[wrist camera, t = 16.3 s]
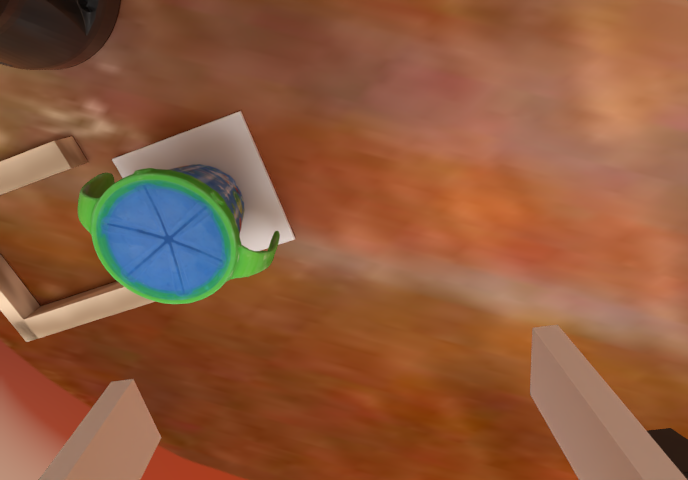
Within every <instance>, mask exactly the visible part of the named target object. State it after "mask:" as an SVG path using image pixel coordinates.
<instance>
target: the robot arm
mask: <svg viewBox="0 0 688 480" xmlns="http://www.w3.org/2000/svg"><path fill="white" fill-rule="evenodd" d="M119 4H120V0H0V64H2V65H6V66H10V67H14V68H20V69H29V70H56V69H64V68H68V67H72V66H75V65H77V64H79V63H82V62H83V61H85V60H87V59H88V58H90V57H91V56H92V55H94V54H95V53H96V52H97V51H98V50H99V49H100V48H101V47H102V46H103V44H104V43H105V42H106V40H107V39H108V37H109V35H110V33H111V31H112V29H113V27H114V24H115V21H116V18H117V14H118V10H119ZM530 395H531V397H532V398H533V400H534V402H535V404H536V405H537V407H538V409H539V411H540V412H541V414H542V416H543V418H544V419H545V421H546V423H547V424H548V426H549V428H550V430H551V431H552V433H553V435H554V437H555V438H556V440H557V442H558V444H559V445H560V447H561V449H562V451H563V452H564V454H565V456H566V458H567V459H568V461H569V463H570V465H571V466H572V468H573V470H574V472H575V473H576V475H577V477H578V479H579V480H688V440H687V439H686V438H684V437H683V436H681V435H680V434H679V433H677V432H676V431H674V430H673V429H671V428H668V429H658V430H649V431H646V430H645V429H644V427H643V426H642V425H641V424H640V423H639V421H638V420H637V419H636V418H635V417H634V415H633V414H632V413H631V412H630V411H629V410H628V408H627V407H626V406H625V405H624V404H623V402H622V401H621V400H620V399H619V398H618V396H617V395H616V394H615V393H614V392H613V390H612V389H611V388H610V387H609V386H608V384H607V383H606V382H605V381H604V380H603V378H602V377H601V376H600V375H599V374H598V373H597V371H596V370H595V369H594V368H593V367H592V365H591V364H590V363H589V362H588V361H587V359H586V358H585V357H584V356H583V355H582V353H581V352H580V351H579V350H578V349H577V347H576V346H575V345H574V344H573V343H572V341H571V340H570V339H569V338H568V337H567V335H566V334H565V333H564V332H563V331H562V330H561V328H560V327H559V326H558V325H552V326H544V327H536V328H533V330H532V356H531V383H530ZM160 439H161V436H160V434H159V432H158V430H157V428H156V426H155V424H154V421H153V419H152V417H151V415H150V413H149V411H148V409H147V407H146V405H145V403H144V401H143V399H142V396H141V394H140V392H139V390H138V388H137V386H136V384H135V382H134V380H133V379H130V380H122V381H115V382H111V383H110V385H109V386H108V387H107V389H106V390H105V391H104V393H103V394H102V395H101V397H100V398H99V399H98V401H97V402H96V403H95V405H94V406H93V407H92V409H91V410H90V412H89V413H88V414H87V416H86V417H85V418H84V420H83V421H82V422H81V423H80V425H79V426H78V427H77V429H76V430H75V432H74V433H73V434H72V436H71V437H70V438H69V440H68V441H67V442H66V444H65V445H64V447H63V448H62V449H61V450H60V452H59V453H58V454H57V456H56V457H55V459H54V460H53V461H52V462H51V464H50V465H49V466H48V468H47V469H46V470H45V472H44V473H43V475H42V476H41V477H40V479H39V480H140V479H141V477H142V475H143V473H144V471H145V469H146V467H147V465H148V463H149V461H150V459H151V457H152V455H153V453H154V451H155V449H156V447H157V445H158V443H159V441H160Z"/></svg>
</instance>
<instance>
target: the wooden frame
mask: <svg viewBox="0 0 688 480" xmlns="http://www.w3.org/2000/svg"><path fill="white" fill-rule="evenodd" d="M87 162H88V161H87V159H86V158H85V156H84V154H83V153H82V151H81V149H80V148H79V146H78V145H77V143H76V141H75V140H74V138H73V136H71V137H67V138H63V139H59V140H55V141H52V142H50V143H47V144H44V145H42V146H39V147H37V148H34V149H32V150H29V151H27V152H24V153H21V154H19V155H16V156H14V157H11V158H9V159H6V160H3V161H1V162H0V195H2V194H5V193H7V192H10V191H13V190H15V189H18V188H21V187H23V186H26V185H28V184H31V183H34V182H36V181H39V180H42V179H44V178H47V177H50V176H52V175H55V174H58V173H60V172H63V171H66V170H68V169H71V168H74V167H76V166H79V165H82V164H84V163H87ZM152 302H155V301H152V300H149V299H146V298H143V297H141V296H139V295H137V294H135V293H133V292H131V291H130V290H128V289H127V288H126V287H124V286H123V285H121V284H120V283H119V282H118V281H117V282H114V283H110V284H107V285H104V286H101V287H98V288H95V289H92V290H89V291H86V292H83V293H80V294H77V295H74V296H71V297H68V298H65V299H62V300H59V301H56V302H52V303H49V304H46V305H43V306H40V305H39V304H38V302H37V301H36V300H35V299H34V297H33V296H32V295H31V293H30V292H29V291H28V289H27V288H26V287H25V285H24V284H23V283H22V282H21V280H20V279H19V278H18V276H17V275H16V274H15V272H14V271H13V270H12V268H11V267H10V266H9V265H8V263H7V262H6V261H5V259H4V258H3V257H2V255H1V254H0V310H1V311H2V313H3V314H4V315H5V316H6V318H7V319H8V320H9V321H10V322H11V324H12V325H13V326H14V327H15V329H16V330H17V331H18V332H19V333H20V335H21V336H22V337H23V338H24V340H25V341H26V342H28V341H31V340H35V339H38V338H41V337H44V336H47V335H50V334H54V333H57V332H60V331H63V330H66V329H69V328H73V327H76V326H79V325H82V324H85V323H88V322H92V321H95V320H98V319H101V318H104V317H107V316H111V315H114V314H117V313H120V312H123V311H126V310H130V309H133V308H136V307H139V306H142V305H145V304H149V303H152Z"/></svg>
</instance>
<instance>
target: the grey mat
mask: <svg viewBox="0 0 688 480" xmlns="http://www.w3.org/2000/svg"><path fill="white" fill-rule="evenodd" d="M112 160H113V162H114V164H115V166H116V167H117V169H118V171H119V172H120V174H121V176H122V178H124V177H126V176H129V175H131V174H133V173H134V172H135V171H136V170H140V169H146V168H154V169H165V170H168V169H173V168H177V167H182V166H187V165H193V164H195V165H196V164H202V165H206V166H211V167H214V168H217V169H219V170H221V171H222V172H224V173H226V174H227V175H230V176H231V177H232V178H233V179H234V180H235V182H236V185H237V186H238V188H239V190H240V191H241V194H242V197H243V201H244V208H245V211H244V218H243V222H242V227H241V231H240V240H241V244H242V245H243V246H245V247H246V248H248V249H250V250H253V251H260V250H263V249H266V248H269V245H270V242H271V239H272V236H273V234H274V232H275V231H279V234H280V238H279V243H278V245H279V244H282V243H285V242H288V241H291V240H294V239H295V236H294V233H293V231H292V229H291V226H290V224H289V222H288V219H287V217H286V215H285V212H284V210H283V208H282V205H281V203H280V201H279V198H278V196H277V194H276V191H275V189H274V187H273V184H272V182H271V180H270V177H269V175H268V173H267V170H266V168H265V166H264V163H263V161H262V159H261V156H260V154H259V152H258V149H257V147H256V145H255V142H254V140H253V138H252V135H251V133H250V131H249V128H248V126H247V124H246V121H245V119H244V116H243V114H242V112H241V111H239V112H237V113H234V114H231V115H229V116H226V117H223V118H221V119H218V120H215V121H213V122H210V123H207V124H205V125H202V126H199V127H197V128H194V129H191V130H189V131H186V132H183V133H181V134H178V135H175V136H173V137H170V138H167V139H165V140H162V141H159V142H157V143H154V144H151V145H149V146H146V147H143V148H141V149H138V150H135V151H133V152H130V153H127V154H125V155H122V156H119V157H117V158H114V159H112Z"/></svg>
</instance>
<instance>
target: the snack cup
mask: <svg viewBox="0 0 688 480" xmlns="http://www.w3.org/2000/svg"><path fill="white" fill-rule="evenodd" d="M244 211H245V208H244V201H243V197H242V194H241V191H240V190H239V188H238V186H237V185H236V182H235V180H234V179H233V178H232V177H231V176H230V175H227V174H226V173H224V172H222V171H221V170H219V169H217V168H214V167H211V166H206V165H202V164H196V165H195V164H193V165H187V166H182V167H177V168H173V169H168V170H165V169H154V168H146V169H140V170H136V171H135V172H134V173H133V174H131V175H129V176H126V177H124V178H123V179H121V180H119V181H118V182H116V183H114V177H113V175H112V174H110V173H102V174H99V175H97V176H96V177H94V178H93V179H91V180H90V181H89V182H87V183H86V184H85V185H84V186H83V187H82V189H81V191H80V194H79V200H78V217H79V220H80V222H81V223H82V225H83V226H84V227H85V228H86V229H87V230H88V231H89V232H90V233H91V235H92V240H93V244H94V248H95V250H96V253H97V255H98V257H99V259H100V261H101V262H102V264H103V265H104V267H105V268H106V270H107V271H108V272H109V273H110V274H111V276H112V277H113V278H114V279H115V280H116V281H118V282H119V283H120V284H121V285H123V286H124V287H126V288H127V289H128V290H130V291H131V292H133V293H135V294H137V295H139V296H141V297H143V298H146V299H149V300H152V301H156V302H161V303H166V304H185V303H192V302H195V301H199V300H202V299H204V298H206V297H208V296H210V295H212V294H213V293H214V292H216V291H217V290H218V289H220V288H221V287H222V285H223V284H224V283H225V282H226V281H228V280H230V279H234V278H241V277H249V276H251V275H253V274H257V273H259V272H261V271H263V270H264V269H266V268H267V267H268V266H270V264H271V263H272V261H273V258H274V254H275V252H276V249H277V246H278V243H279V238H280V234H279V231H275V232H274V234H273V236H272V239H271V242H270V245H269V248H268V251H253V250H250V249H248V248H246V247H245V246H243V245H242V244H241V240H240V231H241V227H242V222H243V218H244Z"/></svg>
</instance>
